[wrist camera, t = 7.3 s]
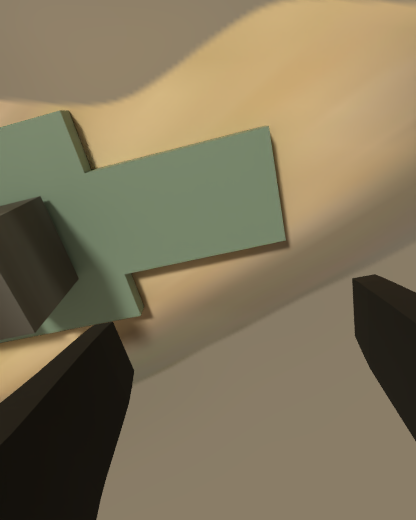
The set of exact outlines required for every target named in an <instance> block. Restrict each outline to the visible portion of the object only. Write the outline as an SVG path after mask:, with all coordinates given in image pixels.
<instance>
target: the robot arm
mask: <svg viewBox="0 0 416 520" xmlns="http://www.w3.org/2000/svg"><path fill="white" fill-rule="evenodd" d="M352 283H353V304H354V324H355V337H356V339H357V341H358V344H359V345H360V348H361V350H362V352H363V354H364V357H365V359H366V361H367V363H368V365H369V367H370V369H371V370H372V372H373V374H374V375H375V377H376V378H377V380H378V382H379V383H380V385H381V387H382V388H383V390H384V391H385V393H386V395H387V396H388V398H389V399H390V401H391V402H392V404H393V406H394V407H395V408H396V410H397V412H398V414H399V415H400V417H401V418H402V420H403V422H404V423H405V425H406V426H407V428H408V429H409V431H410V432H411V434H412V436H413V437H414V439H415V441H416V293H415V292H413V291H411V290H409V289H406V288H405V287H403V286H400V285H398V284H396V283H394V282H392V281H389V280H387V279H385V278H383V277H380V276H378V275H369V276H363V277H358V278H353V279H352ZM133 375H134V369H133V367H132V365H131V362H130V360H129V358H128V356H127V353H126V351H125V349H124V346H123V344H122V342H121V339H120V337H119V335H118V333H117V330H116V328H115V326H114V323H113V322H108V323H102V324H97V325H94V326H92V327H91V328H89V329H88V330H87V331H85V332H84V333H83V334H82V335H81V336H79V337H78V338H77V339H76V340H75V341H73V342H72V343H71V344H70V345H69V346H68V347H67V348H65V349H64V350H63V351H62V352H61V353H60V354H58V355H57V356H56V357H55V358H54V359H53V360H52V361H50V362H49V363H48V364H47V365H46V366H45V367H44V368H42V369H41V370H40V371H39V372H38V373H37V374H35V375H34V376H33V377H32V378H31V379H29V380H28V381H27V382H26V383H24V384H23V385H22V386H21V387H20V388H18V389H17V390H16V391H15V392H13V393H12V394H11V395H10V396H9V397H7V398H6V399H5V400H4V401H2V402H1V403H0V520H96V518H97V514H98V509H99V504H100V499H101V496H102V492H103V487H104V484H105V480H106V477H107V473H108V470H109V467H110V464H111V461H112V457H113V454H114V451H115V447H116V444H117V441H118V438H119V435H120V431H121V428H122V425H123V421H124V418H125V415H126V411H127V408H128V404H129V400H130V394H131V389H132V382H133Z"/></svg>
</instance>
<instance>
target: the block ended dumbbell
mask: <svg viewBox="0 0 416 520" xmlns="http://www.w3.org/2000/svg"><path fill="white" fill-rule="evenodd" d="M78 279H79V278H78V276H77V273H76V271H75V269H74V267H73V265H72V263H71V261H70V258H69V256H68V254H67V252H66V250H65V248H64V246H63V243H62V241H61V239H60V237H59V235H58V233H57V230H56V228H55V226H54V224H53V222H52V220H51V218H50V215H49V213H48V211H47V209H46V207H45V205H44V203H43V200H42V198H41V196H38V197H34V198H30V199H26V200H22V201H18V202H14V203H10V204H6V205H2V206H0V340H3V339H8V338H13V337H18V336H23V335H28V334H34V333H36V331H37V330H38V329H39V328H40V326H41V325H42V324H43V323H44V322H45V320H46V319H47V318H48V317H49V315H50V314H51V313H52V312H53V310H54V309H55V308H56V307H57V305H58V304H59V303H60V302H61V300H62V299H63V298H64V297H65V296H66V294H67V293H68V292H69V291H70V289H71V288H72V287H73V286H74V284H75V283H76V282H77V281H78Z"/></svg>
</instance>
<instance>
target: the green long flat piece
mask: <svg viewBox="0 0 416 520" xmlns="http://www.w3.org/2000/svg"><path fill="white" fill-rule="evenodd" d="M38 196H41V198H42V200H43V203H44V205H45V207H46V209H47V211H48V213H49V215H50V218H51V220H52V222H53V224H54V226H55V228H56V230H57V233H58V235H59V237H60V239H61V241H62V243H63V246H64V248H65V250H66V252H67V254H68V256H69V258H70V261H71V263H72V265H73V267H74V269H75V271H76V273H77V276H78V278H79V279H78V281H77V282H76V283H75V284H74V286H73V287H72V288H71V289H70V291H69V292H68V293H67V294H66V296H65V297H64V298H63V299H62V300H61V302H60V303H59V304H58V305H57V307H56V308H55V309H54V310H53V312H52V313H51V314H50V315H49V317H48V318H47V319H46V320H45V322H44V323H43V324H42V325H41V326H40V328H39V329H38V330H37V331H36V333H34V334H28V335H23V336H18V337H13V338H8V339H3V340H0V343H2V342H7V341H12V340H17V339H23V338H28V337H33V336H38V335H43V334H48V333H54V332H59V331H64V330H69V329H74V328H80V327H85V326H90V325H95V324H100V323H105V322H111V321H116V320H121V319H126V318H131V317H137V316H141V314H142V311H143V308H144V305H143V303H142V300H141V298H140V295H139V292H138V290H137V287H136V285H135V282H134V279H133V277H132V274H131V273H134V272H138V271H143V270H148V269H153V268H157V267H162V266H167V265H172V264H176V263H181V262H186V261H191V260H195V259H200V258H205V257H210V256H214V255H219V254H224V253H229V252H233V251H238V250H243V249H248V248H252V247H257V246H262V245H267V244H271V243H276V242H281V241H286V239H285V232H284V225H283V219H282V212H281V205H280V198H279V192H278V185H277V178H276V172H275V165H274V158H273V151H272V145H271V138H270V131H269V126H262V127H258V128H255V129H251V130H247V131H243V132H239V133H235V134H231V135H227V136H223V137H219V138H215V139H211V140H207V141H204V142H200V143H196V144H192V145H188V146H184V147H180V148H176V149H172V150H168V151H164V152H160V153H156V154H153V155H149V156H145V157H141V158H137V159H133V160H129V161H125V162H121V163H117V164H113V165H109V166H106V167H102V168H98V169H94V170H91V168H90V165H89V162H88V160H87V157H86V155H85V152H84V149H83V147H82V144H81V142H80V139H79V136H78V134H77V131H76V129H75V126H74V123H73V121H72V118H71V116H70V113H69V111H57V112H53V113H50V114H46V115H43V116H39V117H36V118H32V119H28V120H25V121H21V122H18V123H14V124H11V125H7V126H4V127H0V206H2V205H6V204H10V203H14V202H18V201H22V200H26V199H30V198H34V197H38Z"/></svg>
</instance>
